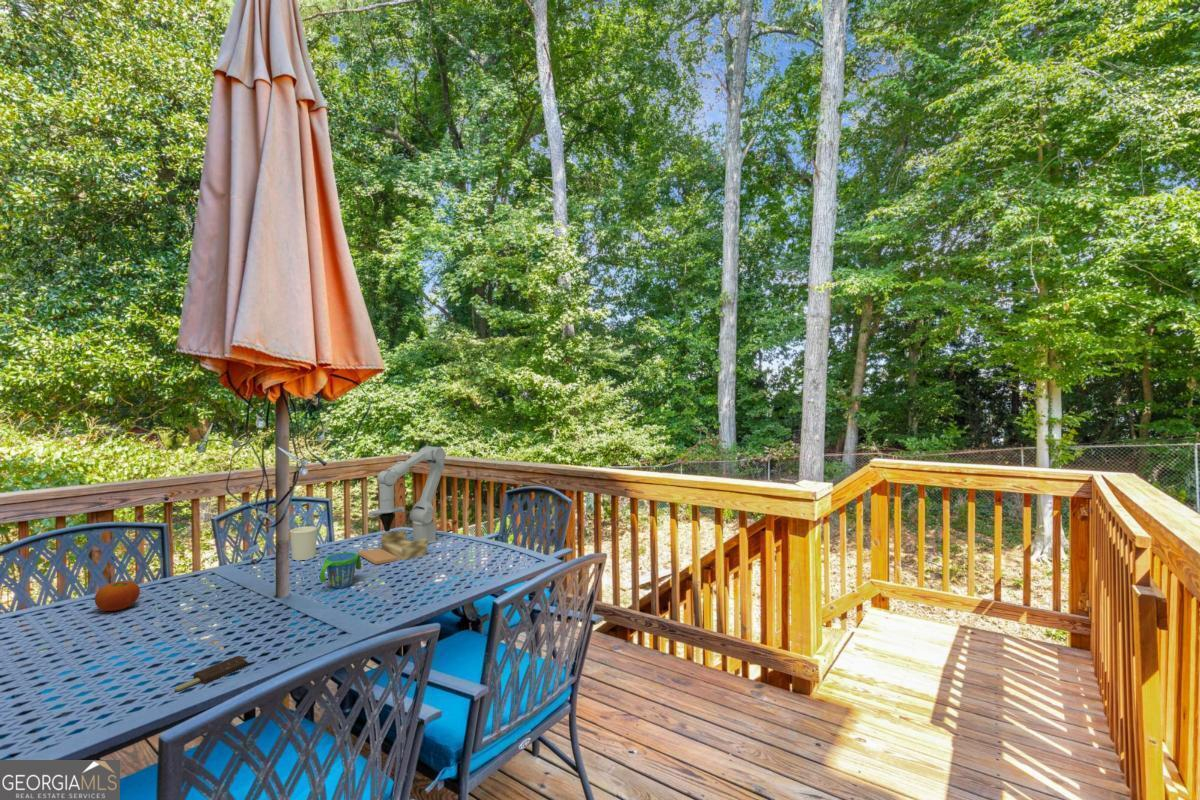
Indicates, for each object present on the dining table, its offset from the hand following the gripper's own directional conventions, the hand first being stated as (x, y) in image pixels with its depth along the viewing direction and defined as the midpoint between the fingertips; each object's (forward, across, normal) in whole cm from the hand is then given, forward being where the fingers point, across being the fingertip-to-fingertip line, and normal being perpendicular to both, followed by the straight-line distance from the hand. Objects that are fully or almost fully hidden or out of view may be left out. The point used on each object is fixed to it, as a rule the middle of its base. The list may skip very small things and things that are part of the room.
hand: (386, 530), depth 225 cm
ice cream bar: (+9, -72, -68) cm, 99 cm away
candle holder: (+9, -28, +15) cm, 33 cm away
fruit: (+9, -85, +1) cm, 85 cm away
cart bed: (+9, +5, -6) cm, 12 cm away
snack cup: (+9, -28, -27) cm, 40 cm away
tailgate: (+9, -2, -6) cm, 11 cm away
